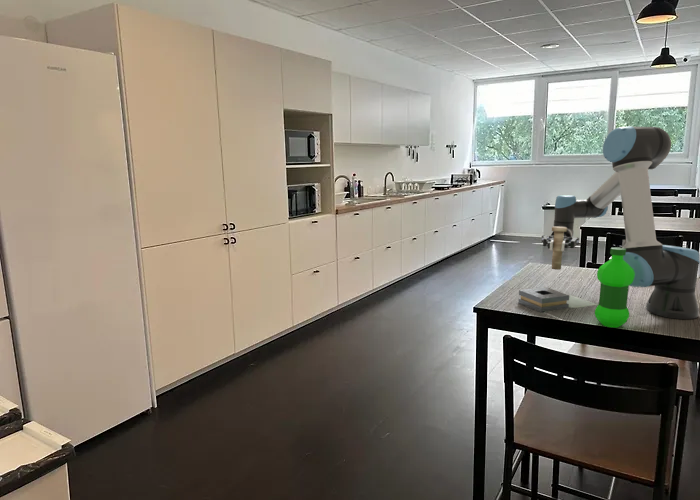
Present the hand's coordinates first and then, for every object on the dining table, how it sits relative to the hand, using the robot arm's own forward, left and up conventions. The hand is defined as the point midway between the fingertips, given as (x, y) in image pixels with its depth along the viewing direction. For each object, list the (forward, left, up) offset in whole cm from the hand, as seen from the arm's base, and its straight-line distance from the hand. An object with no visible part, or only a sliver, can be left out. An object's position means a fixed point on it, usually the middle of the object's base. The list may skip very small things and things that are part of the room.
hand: (556, 246), depth 170 cm
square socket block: (+2, +2, -22) cm, 22 cm away
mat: (+2, -11, -22) cm, 25 cm away
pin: (+4, -4, -9) cm, 11 cm away
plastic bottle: (-22, -4, -22) cm, 31 cm away
